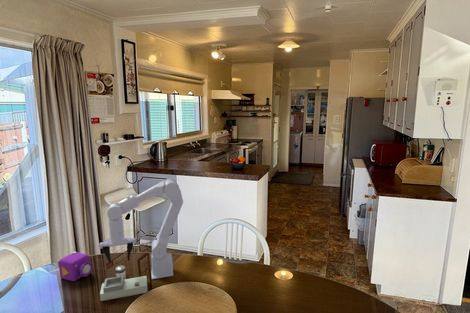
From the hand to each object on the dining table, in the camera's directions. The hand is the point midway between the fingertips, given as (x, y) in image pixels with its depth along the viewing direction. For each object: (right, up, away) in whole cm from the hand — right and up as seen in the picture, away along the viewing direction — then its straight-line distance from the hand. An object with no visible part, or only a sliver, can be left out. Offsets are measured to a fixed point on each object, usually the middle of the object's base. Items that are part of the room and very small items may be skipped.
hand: (119, 260), depth 134 cm
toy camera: (-21, -9, +6) cm, 24 cm away
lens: (0, -9, +2) cm, 9 cm away
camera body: (+5, -10, -6) cm, 13 cm away
